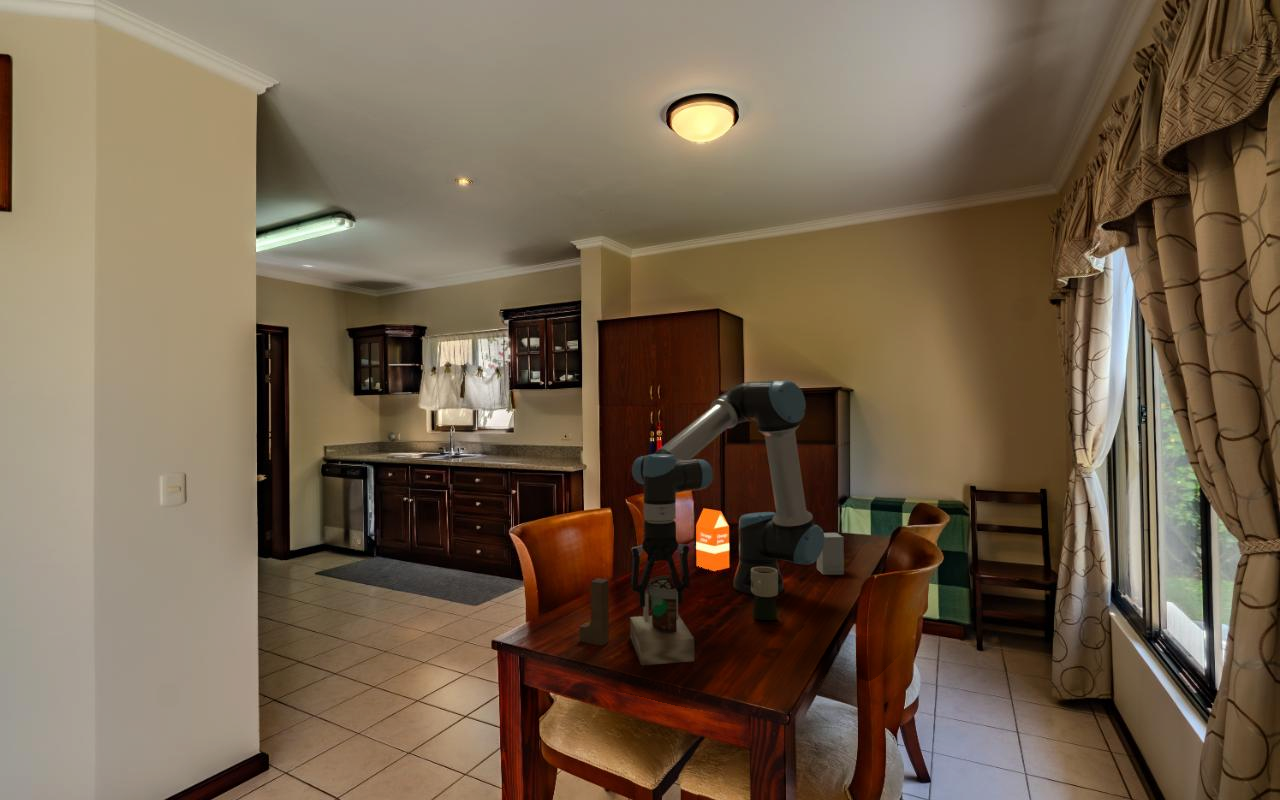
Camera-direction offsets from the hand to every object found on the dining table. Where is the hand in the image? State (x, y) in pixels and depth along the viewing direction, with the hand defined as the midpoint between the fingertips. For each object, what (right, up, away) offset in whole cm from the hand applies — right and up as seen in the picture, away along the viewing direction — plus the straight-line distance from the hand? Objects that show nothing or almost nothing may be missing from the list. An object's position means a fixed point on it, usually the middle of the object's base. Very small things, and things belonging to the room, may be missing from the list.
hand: (660, 618), depth 141 cm
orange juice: (+21, -8, +70) cm, 74 cm away
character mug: (+28, -7, +19) cm, 35 cm away
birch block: (0, -7, 0) cm, 7 cm away
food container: (0, -2, 0) cm, 2 cm away
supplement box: (+60, -7, +63) cm, 87 cm away
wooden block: (-16, -7, +4) cm, 18 cm away
